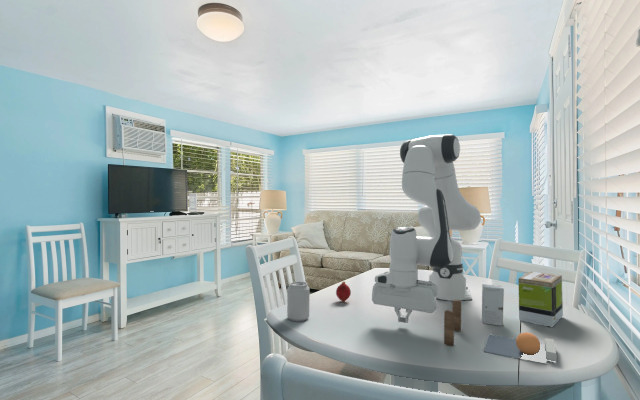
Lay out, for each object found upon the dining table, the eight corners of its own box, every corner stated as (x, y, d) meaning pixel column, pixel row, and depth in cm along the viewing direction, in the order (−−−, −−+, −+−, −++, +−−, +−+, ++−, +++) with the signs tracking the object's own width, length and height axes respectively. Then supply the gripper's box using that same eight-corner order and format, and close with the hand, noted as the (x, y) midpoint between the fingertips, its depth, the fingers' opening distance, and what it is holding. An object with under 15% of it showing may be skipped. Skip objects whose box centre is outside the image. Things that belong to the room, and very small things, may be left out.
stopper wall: (544, 347, 96) (544, 338, 96) (553, 348, 95) (553, 339, 95) (546, 361, 87) (546, 351, 87) (556, 363, 86) (556, 353, 86)
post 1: (445, 341, 100) (445, 309, 100) (454, 343, 98) (454, 311, 98) (443, 344, 97) (443, 312, 97) (453, 346, 96) (453, 313, 96)
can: (312, 316, 121) (312, 281, 121) (304, 323, 114) (304, 286, 114) (292, 313, 123) (292, 279, 123) (283, 320, 116) (283, 284, 116)
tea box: (530, 311, 128) (530, 270, 128) (563, 317, 121) (563, 275, 121) (517, 320, 118) (518, 276, 118) (552, 328, 111) (553, 281, 111)
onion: (349, 304, 136) (349, 283, 136) (335, 303, 137) (335, 282, 137) (351, 300, 141) (351, 280, 141) (337, 299, 142) (337, 279, 142)
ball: (511, 336, 96) (526, 324, 94) (528, 352, 94) (544, 340, 92) (511, 346, 91) (527, 334, 89) (529, 363, 89) (546, 351, 87)
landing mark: (488, 334, 105) (488, 334, 105) (544, 344, 98) (544, 344, 98) (484, 351, 93) (484, 351, 93) (547, 364, 86) (547, 363, 86)
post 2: (453, 327, 110) (453, 299, 110) (461, 329, 109) (461, 300, 109) (451, 330, 108) (451, 301, 108) (460, 332, 107) (460, 302, 107)
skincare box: (483, 324, 114) (483, 286, 114) (481, 319, 118) (481, 283, 119) (504, 326, 112) (504, 288, 112) (501, 321, 117) (501, 285, 117)
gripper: (439, 280, 108) (439, 325, 108) (377, 273, 119) (376, 314, 119) (434, 284, 103) (434, 331, 103) (370, 276, 113) (369, 319, 113)
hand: (403, 322), depth 111 cm, fingers closed
